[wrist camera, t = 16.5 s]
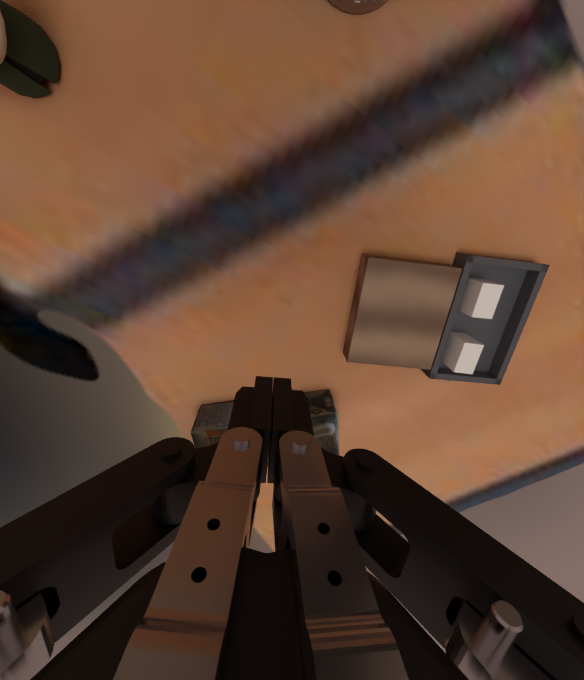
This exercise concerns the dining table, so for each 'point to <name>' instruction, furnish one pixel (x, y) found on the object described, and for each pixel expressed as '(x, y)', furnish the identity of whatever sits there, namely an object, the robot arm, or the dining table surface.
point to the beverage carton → (215, 424)
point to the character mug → (25, 54)
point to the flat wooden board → (399, 311)
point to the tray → (505, 323)
